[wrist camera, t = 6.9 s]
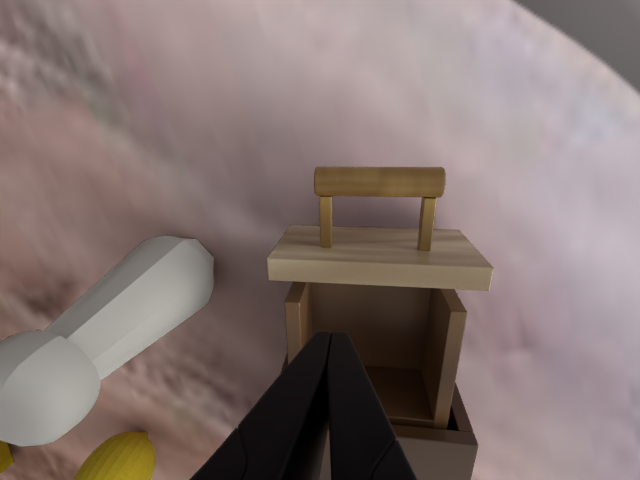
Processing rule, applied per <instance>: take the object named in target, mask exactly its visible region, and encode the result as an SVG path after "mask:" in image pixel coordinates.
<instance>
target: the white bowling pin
mask: <svg viewBox="0 0 640 480" xmlns="http://www.w3.org/2000/svg"><path fill="white" fill-rule="evenodd" d="M213 264H214V257H213V256H212V255H211V254H210V253H209V252H208V251H207V250H206V249H205V248H204V247H203V246H202V245H201V243H200V242H199V241H198V240H197V239H184V238H179V237H173V236H168V235H165V236H160V237H155V238H150V239H147V240H144V241H143V242H141V243H140V244H139V245H138V246H137V247H136V248H135V249H134V250H133V251H132V252H130V253H129V254H128V255H127V256H126V257H125V258H124V259H123V260H122V261H120V262H119V263H118V264H117V265H116V266H115V267H114V268H113V269H112V270H110V271H109V272H108V273H107V274H106V275H105V276H104V277H103V278H102V279H100V280H99V281H98V282H97V283H96V284H95V285H94V286H93V287H92V288H90V289H89V290H88V291H87V292H86V293H85V294H84V295H83V296H82V297H80V298H79V299H78V300H77V301H76V302H75V303H74V304H73V305H72V306H70V307H69V308H68V309H67V310H66V311H65V312H64V313H63V314H62V315H60V316H59V317H58V318H57V319H56V320H55V321H54V322H53V323H52V324H50V325H49V326H48V327H47V328H46V329H45V330H44V331H41V330H36V331H29V332H22V333H18V334H15V335H11V336H9V337H7V338H6V339H4V340H2V341H0V440H1V441H4V442H7V443H11V444H14V445H18V446H34V445H42V444H48V443H53V442H54V441H56V440H57V439H59V438H60V437H61V436H63V435H64V434H66V433H67V432H68V431H69V430H71V429H72V428H73V427H74V426H76V425H77V424H78V423H79V422H81V421H82V420H83V419H84V417H85V416H86V415H87V414H88V412H89V411H90V410H91V409H92V408H93V406H94V405H95V403H96V401H97V398H98V395H99V390H100V386H101V382H100V381H101V380H102V379H104V378H105V377H106V376H108V375H109V374H111V373H112V372H113V371H115V370H116V369H118V368H119V367H120V366H122V365H123V364H125V363H126V362H127V361H129V360H130V359H132V358H133V357H134V356H136V355H137V354H139V353H140V352H141V351H143V350H144V349H145V348H147V347H148V346H150V345H151V344H152V343H154V342H155V341H157V340H158V339H159V338H161V337H162V336H164V335H165V334H166V333H168V332H169V331H171V330H172V329H173V328H175V327H176V326H178V325H179V324H180V323H182V322H183V321H185V320H186V319H187V318H189V317H190V316H192V315H193V314H194V313H196V312H197V311H199V310H200V309H201V308H203V307H204V306H206V305H207V303H208V301H209V299H210V296H211V293H212V290H213V288H214V274H213Z"/></svg>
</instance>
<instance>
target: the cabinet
mask: <svg viewBox="0 0 640 480" xmlns="http://www.w3.org/2000/svg"><path fill="white" fill-rule="evenodd" d="M287 366H288V352H287V355H286V358H285V361H284V364H283V368H282V371H281V373H282V372H283V371H284V369H285V368H286V367H287ZM391 426H392V428H393V430H394V432H395V434H396V436H397V440H398V441H399V442H400V444H401V446H402V449H403V451H404V453H405V455H406V457H407V459H408V461H409V463H410V465H411V467H412V469H413V471H414V473H415V475H416V477H417V479H418V480H471V475H472V471H473V467H474V462H475V458H476V454H477V449H478V443H477V440H476V438H475V435H474V433H473V429H472V426H471V424H470V421H469V418H468V415H467V413H466V410H465V407H464V404H463V402H462V399H461V396H460V393H459V391H458V388H457V385H456V382H455V385H454V391H453V396H452V402H451V407H450V413H449V419H448V424H447V430H443V429H433V428H422V427H412V426H402V425H392V424H391ZM319 480H331V464H330V440H329V427H328V433H327V438H326V444H325V450H324V455H323V461H322V467H321V472H320V478H319Z"/></svg>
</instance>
